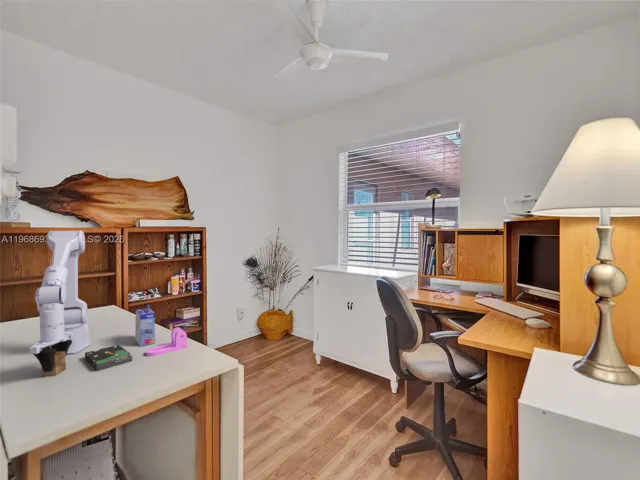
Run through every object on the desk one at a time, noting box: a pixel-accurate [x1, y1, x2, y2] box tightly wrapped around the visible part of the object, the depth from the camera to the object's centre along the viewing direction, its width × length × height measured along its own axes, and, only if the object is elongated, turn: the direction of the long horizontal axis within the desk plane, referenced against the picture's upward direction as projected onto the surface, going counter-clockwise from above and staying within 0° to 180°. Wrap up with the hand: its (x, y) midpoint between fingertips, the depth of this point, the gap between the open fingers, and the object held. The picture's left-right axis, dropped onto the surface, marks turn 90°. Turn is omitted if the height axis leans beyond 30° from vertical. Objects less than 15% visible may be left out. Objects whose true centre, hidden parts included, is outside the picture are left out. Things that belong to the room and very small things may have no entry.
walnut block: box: [41, 351, 67, 377], centre depth 97 cm, size 4×4×6 cm
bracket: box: [145, 327, 188, 357], centre depth 114 cm, size 13×6×7 cm, turn 132°
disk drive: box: [84, 344, 133, 372], centre depth 106 cm, size 10×3×15 cm
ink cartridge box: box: [134, 303, 156, 347], centre depth 123 cm, size 10×6×14 cm, turn 40°
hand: (53, 367), depth 97 cm, fingers open, 4 cm apart
